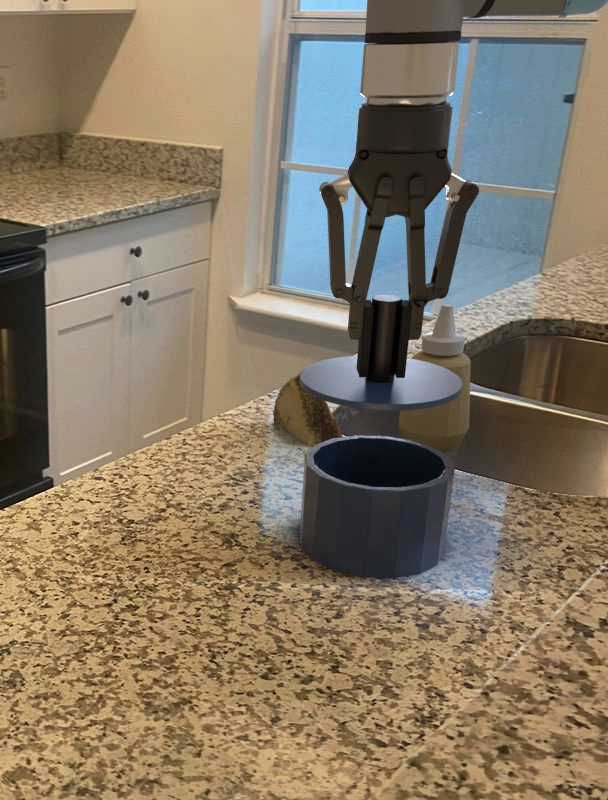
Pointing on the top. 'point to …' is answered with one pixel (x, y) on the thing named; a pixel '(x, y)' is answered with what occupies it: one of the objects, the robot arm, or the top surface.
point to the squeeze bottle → (451, 419)
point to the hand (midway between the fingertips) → (380, 372)
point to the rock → (304, 414)
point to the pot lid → (381, 372)
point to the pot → (375, 506)
